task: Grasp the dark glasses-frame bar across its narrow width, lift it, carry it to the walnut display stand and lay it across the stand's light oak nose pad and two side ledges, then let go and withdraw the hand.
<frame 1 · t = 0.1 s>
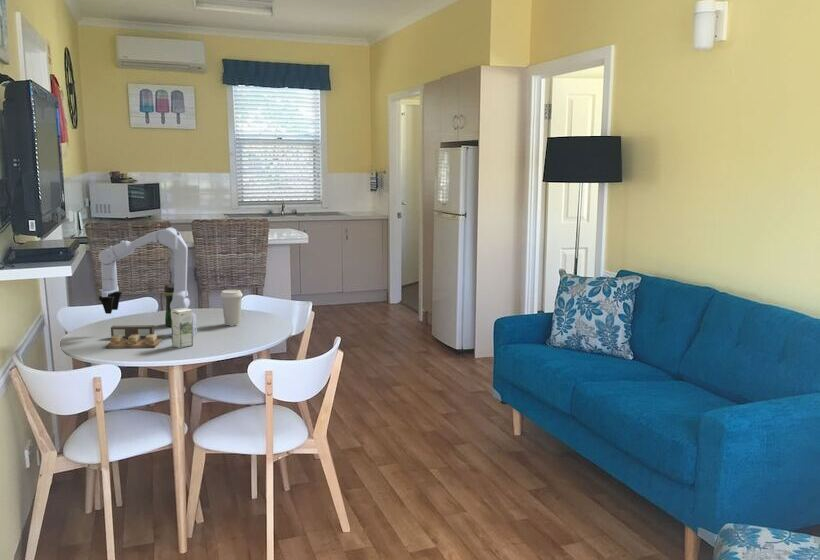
hand: (111, 311, 279), 10 cm above the table, tool pointing down, fingers open, 7 cm apart
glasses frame: (133, 338, 277), on the table
display stand: (134, 344, 266), on the table
coffee cup: (232, 325, 302), on the table
syrup box: (182, 346, 264), on the table
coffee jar: (177, 325, 301), on the table
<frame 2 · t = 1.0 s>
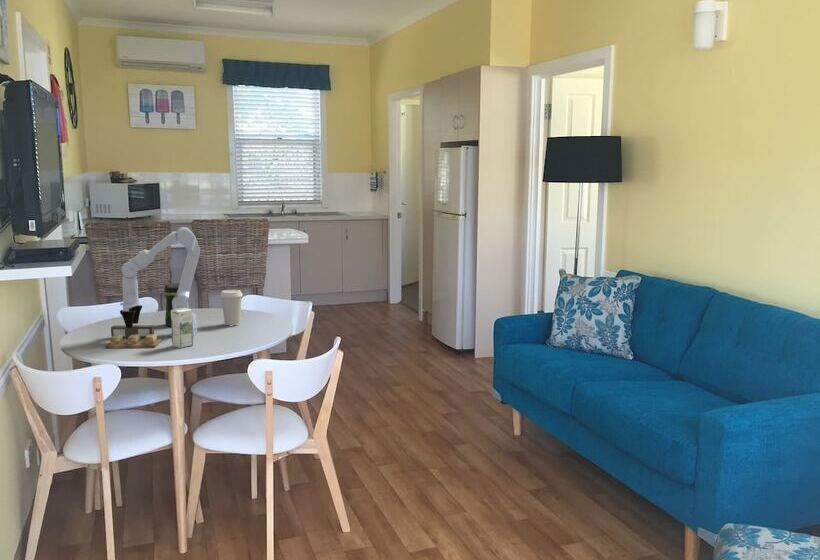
hand: (132, 325, 276), 5 cm above the table, tool pointing down, fingers open, 7 cm apart
nothing on the table moved.
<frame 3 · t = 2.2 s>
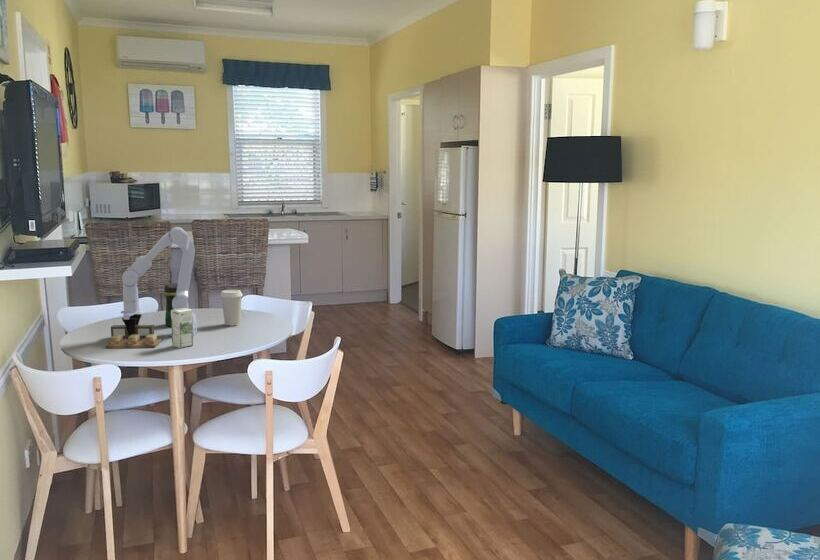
hand: (132, 333, 277), 2 cm above the table, tool pointing down, fingers closed on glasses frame, 3 cm apart
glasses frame: (133, 337, 277), on the table, touching gripper
everything else where it was.
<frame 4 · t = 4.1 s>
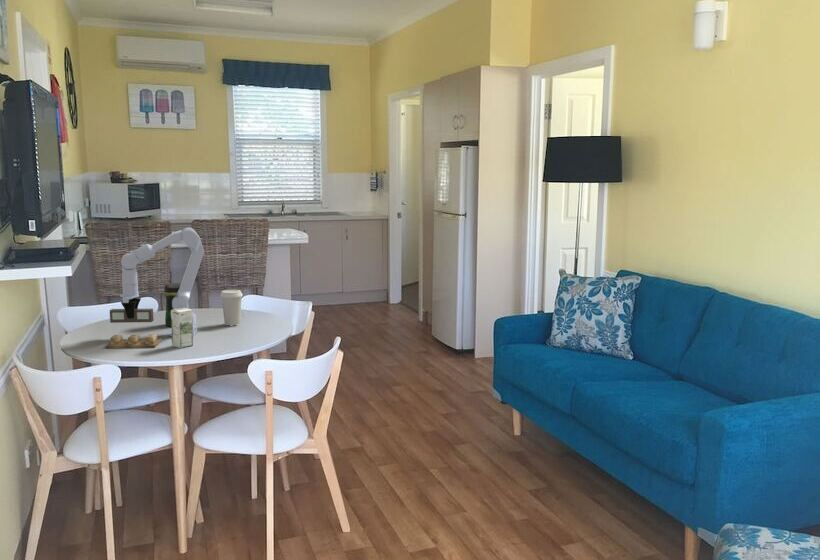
hand: (131, 317, 276), 8 cm above the table, tool pointing down, fingers closed on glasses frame, 3 cm apart
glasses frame: (132, 321, 276), point 7 cm above the table, touching gripper
everything else where it was.
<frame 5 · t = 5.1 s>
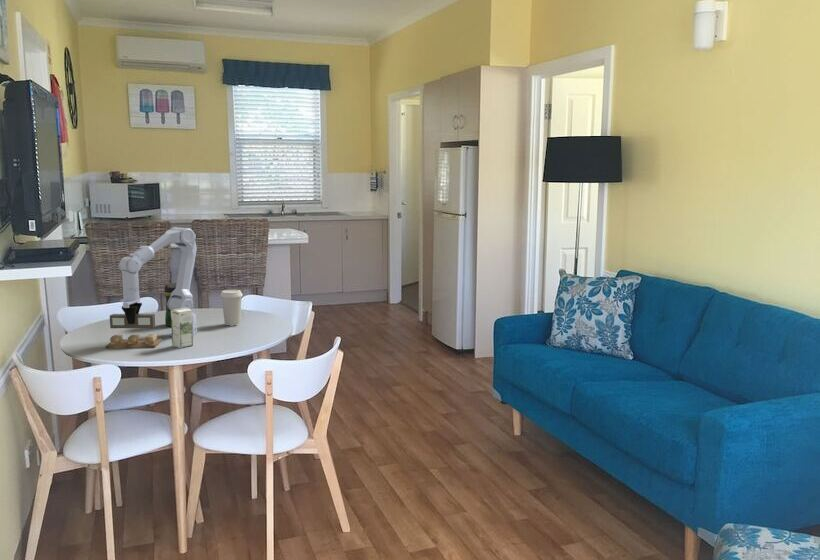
hand: (132, 322, 265), 8 cm above the table, tool pointing down, fingers closed on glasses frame, 3 cm apart
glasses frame: (132, 327, 266), point 7 cm above the table, touching gripper
everything else where it was.
when the fingers open (6 cm above the table, at t = 6.0 s): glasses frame drops 1 cm, resting on display stand.
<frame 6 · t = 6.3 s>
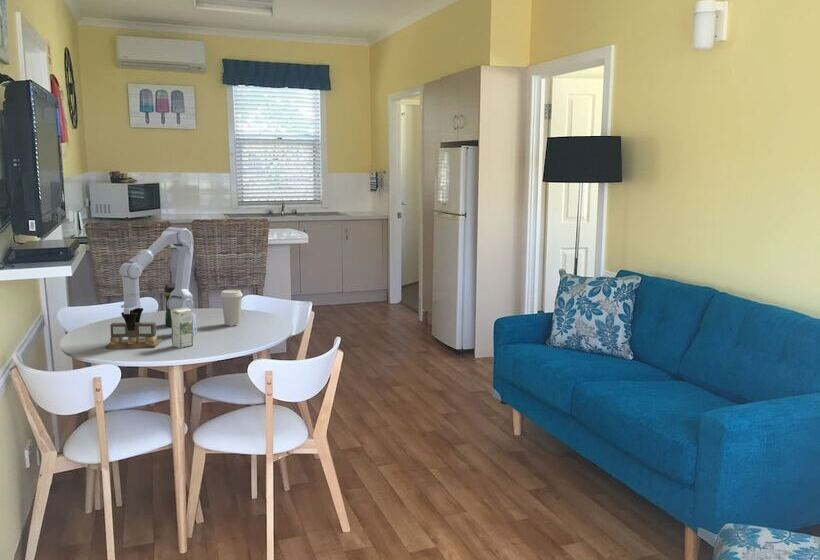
hand: (133, 328, 265), 6 cm above the table, tool pointing down, fingers open, 5 cm apart
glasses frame: (133, 336, 265), point 3 cm above the table, touching display stand
everything else where it was.
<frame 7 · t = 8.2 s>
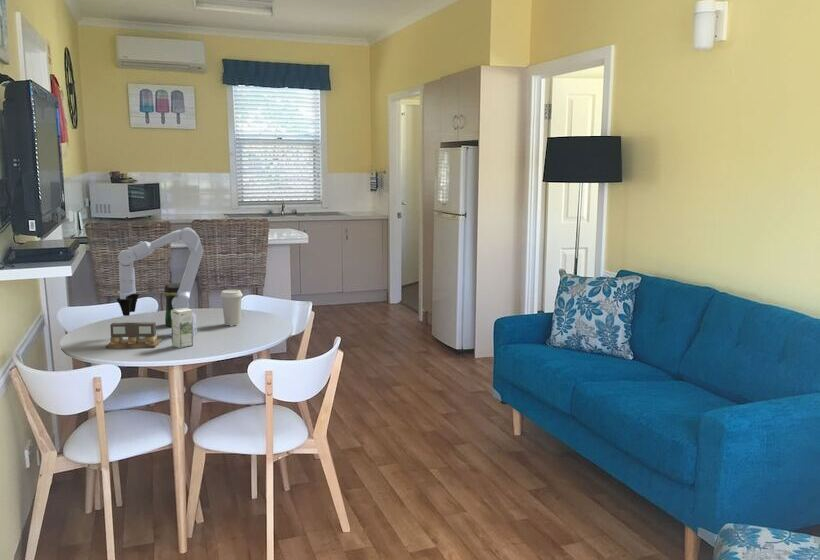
hand: (129, 313, 275), 10 cm above the table, tool pointing down, fingers open, 7 cm apart
nothing on the table moved.
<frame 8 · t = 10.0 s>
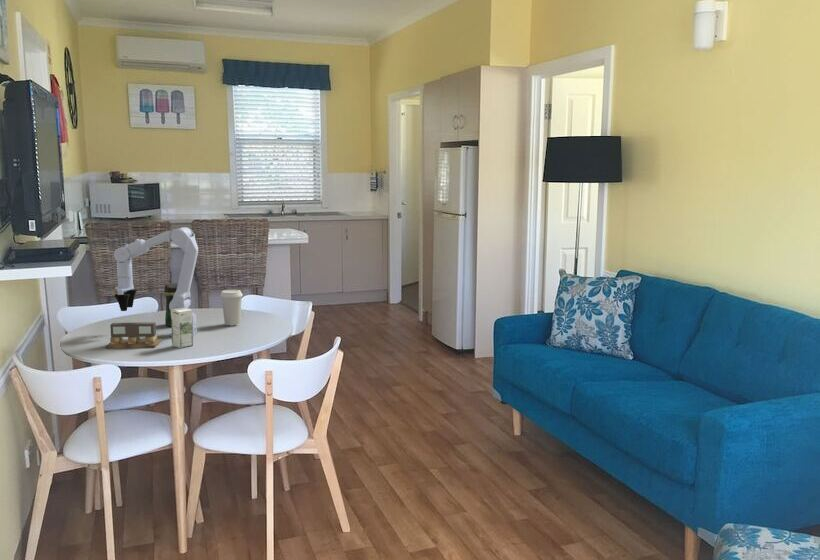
hand: (126, 309, 282), 10 cm above the table, tool pointing down, fingers open, 7 cm apart
nothing on the table moved.
at the end: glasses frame 0.0 cm off-centre on the display stand, point 3.5 cm above the display stand's base; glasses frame tilted 0°; the gripper is holding nothing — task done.
